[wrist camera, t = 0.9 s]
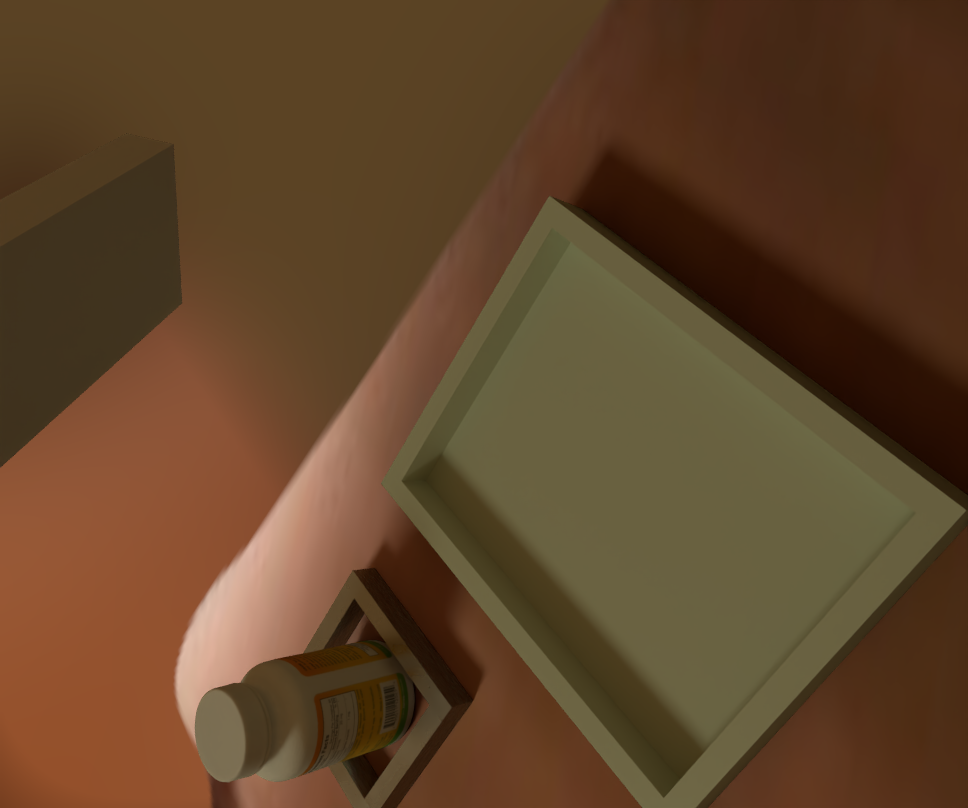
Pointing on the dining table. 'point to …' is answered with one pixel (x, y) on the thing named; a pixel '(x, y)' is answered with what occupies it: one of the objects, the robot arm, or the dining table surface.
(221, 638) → the dining table surface
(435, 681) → the holder ring
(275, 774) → the supplement bottle
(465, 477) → the tray
